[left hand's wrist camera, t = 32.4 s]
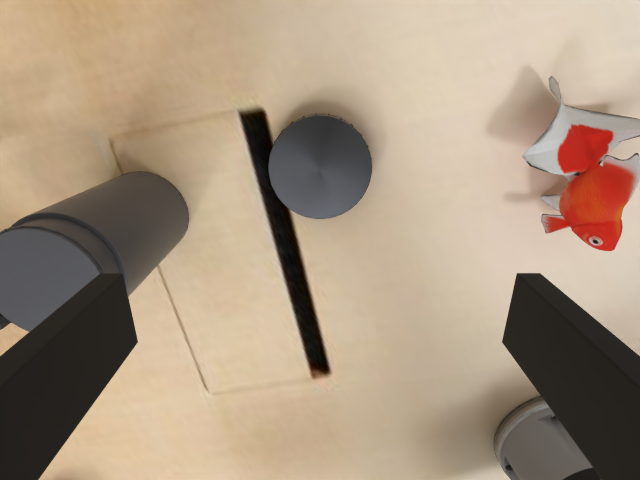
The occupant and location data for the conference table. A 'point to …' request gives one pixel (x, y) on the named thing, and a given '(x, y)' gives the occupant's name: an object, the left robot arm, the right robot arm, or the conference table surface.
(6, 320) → the right robot arm
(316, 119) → the lid
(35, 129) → the conference table surface
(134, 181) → the jar
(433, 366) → the conference table surface
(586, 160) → the fish
